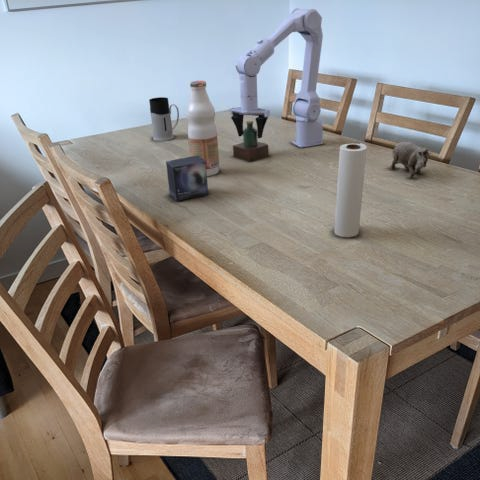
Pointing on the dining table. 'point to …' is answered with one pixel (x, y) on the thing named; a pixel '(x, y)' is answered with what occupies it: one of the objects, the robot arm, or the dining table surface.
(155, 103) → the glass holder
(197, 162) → the small box
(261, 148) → the block
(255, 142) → the bottle
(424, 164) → the rhinoceros figurine
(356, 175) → the paper towel roll
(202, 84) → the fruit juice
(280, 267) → the dining table surface
